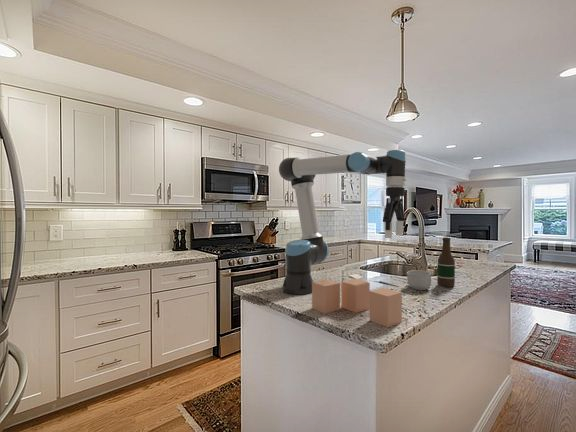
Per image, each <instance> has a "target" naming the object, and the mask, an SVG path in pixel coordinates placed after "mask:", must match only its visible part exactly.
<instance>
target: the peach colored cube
mask: <svg viewBox="0 0 576 432" xmlns="http://www.w3.org/2000/svg"><path fill="white" fill-rule="evenodd" d="M311 309H314V310H315V311H317V312H321V313H323V314H329V313H332V312H336V311H340V309H341V283H340V282H337V281H333V280H330V279H322V280H317V281H313V282H312V293H311Z"/></svg>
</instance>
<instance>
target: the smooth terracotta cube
mask: <svg viewBox="0 0 576 432" xmlns="http://www.w3.org/2000/svg"><path fill="white" fill-rule="evenodd" d="M370 286H371V285H370V282H369V281H365V280H362V279H355V278H352V279H346V280H344V281H343V280H342V281H341V309H342V308H343V309H345V310H348V311H351V312H353V313H356V314H357V313H360V312H363V311H367V310H370V291H371V290H370V289H371V287H370Z"/></svg>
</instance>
